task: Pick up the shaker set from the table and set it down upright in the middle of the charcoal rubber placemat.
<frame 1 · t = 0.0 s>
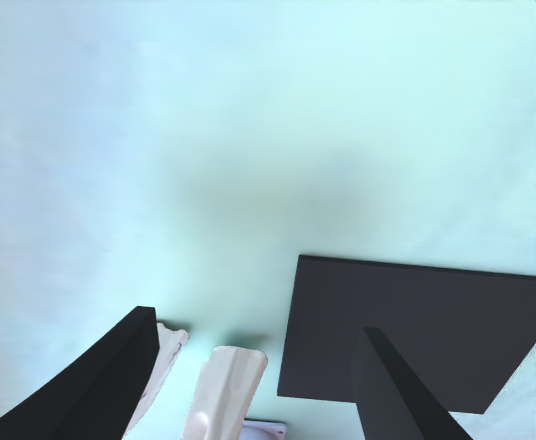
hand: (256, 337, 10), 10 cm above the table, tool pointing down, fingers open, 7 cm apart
shaker set: (199, 339, 25), on the table
placemat: (403, 343, 24), on the table
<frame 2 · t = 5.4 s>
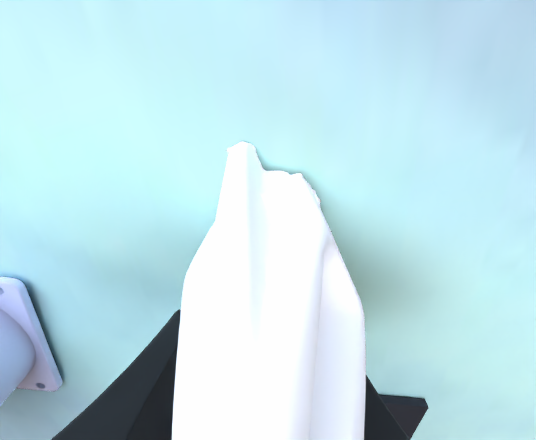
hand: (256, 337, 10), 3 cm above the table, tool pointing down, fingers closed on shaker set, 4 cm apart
shaker set: (261, 276, 13), on the table, touching gripper
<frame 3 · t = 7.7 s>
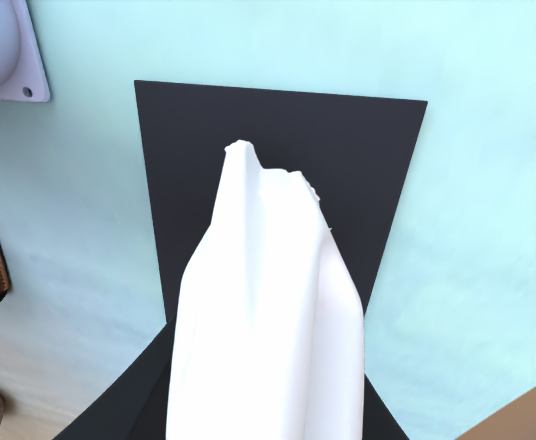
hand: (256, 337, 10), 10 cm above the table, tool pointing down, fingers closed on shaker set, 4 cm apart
shaker set: (261, 275, 13), point 7 cm above the table, touching gripper
placemat: (268, 243, 20), on the table
when the fingers open (4 cm above the table, at t = 10.2 s): shaker set stays where it is, resting on placemat.
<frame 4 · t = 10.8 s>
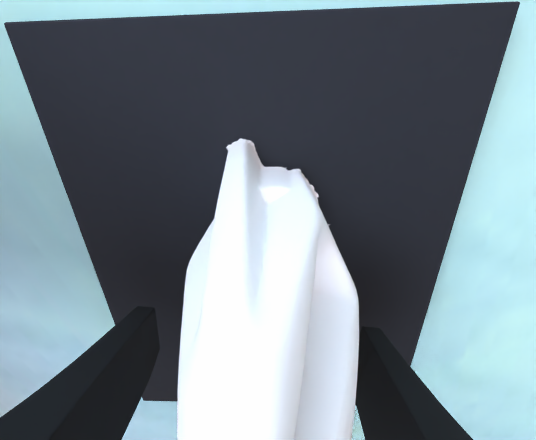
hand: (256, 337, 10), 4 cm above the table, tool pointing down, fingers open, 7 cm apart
shaker set: (261, 271, 13), resting on placemat
placemat: (263, 268, 14), on the table
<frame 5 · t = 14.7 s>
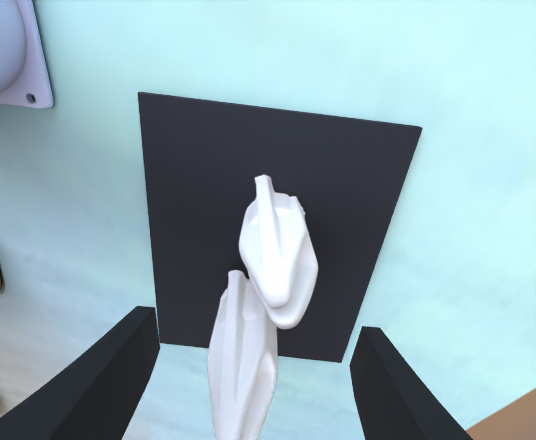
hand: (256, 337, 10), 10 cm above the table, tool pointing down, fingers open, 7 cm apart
shaker set: (262, 256, 20), resting on placemat
placemat: (263, 254, 20), on the table
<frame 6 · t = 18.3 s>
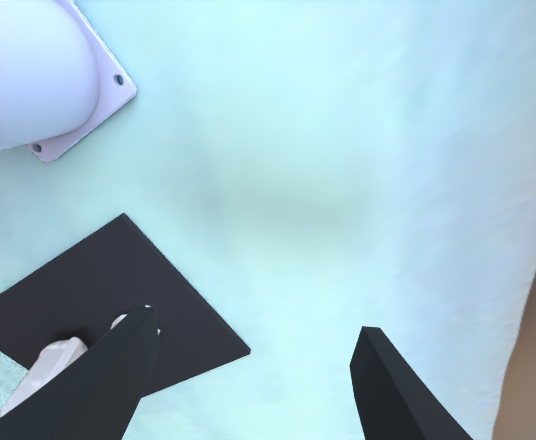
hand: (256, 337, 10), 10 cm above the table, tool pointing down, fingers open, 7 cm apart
shaker set: (107, 336, 25), resting on placemat
placemat: (108, 334, 25), on the table
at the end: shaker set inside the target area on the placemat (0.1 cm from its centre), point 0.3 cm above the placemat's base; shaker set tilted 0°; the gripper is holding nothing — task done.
